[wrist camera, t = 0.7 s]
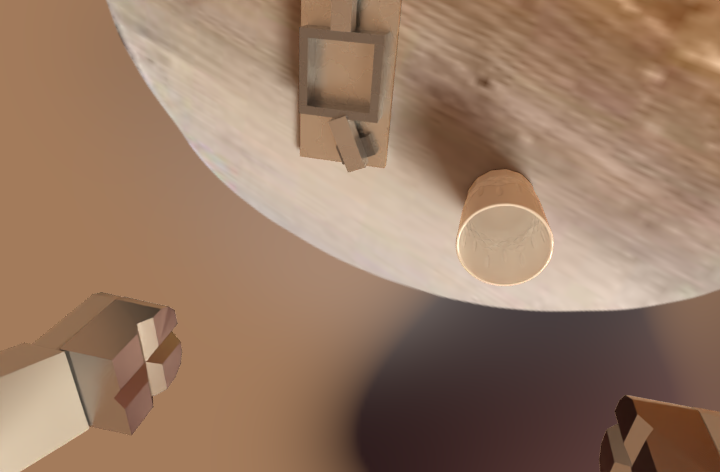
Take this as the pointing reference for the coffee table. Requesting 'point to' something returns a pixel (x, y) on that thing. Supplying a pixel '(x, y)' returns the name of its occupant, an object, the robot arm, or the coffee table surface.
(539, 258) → the white cup
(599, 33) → the coffee table surface
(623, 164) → the coffee table surface
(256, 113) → the coffee table surface
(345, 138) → the shaft rig
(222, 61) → the coffee table surface
